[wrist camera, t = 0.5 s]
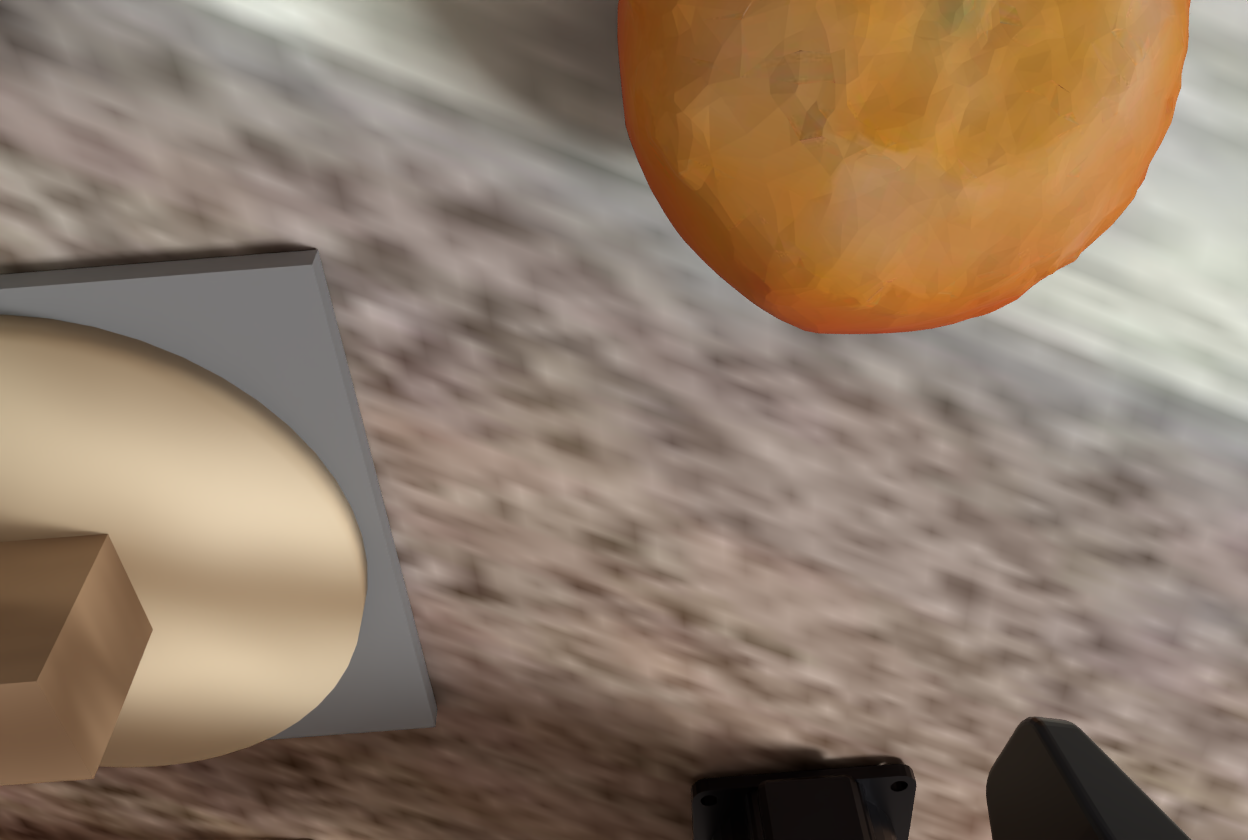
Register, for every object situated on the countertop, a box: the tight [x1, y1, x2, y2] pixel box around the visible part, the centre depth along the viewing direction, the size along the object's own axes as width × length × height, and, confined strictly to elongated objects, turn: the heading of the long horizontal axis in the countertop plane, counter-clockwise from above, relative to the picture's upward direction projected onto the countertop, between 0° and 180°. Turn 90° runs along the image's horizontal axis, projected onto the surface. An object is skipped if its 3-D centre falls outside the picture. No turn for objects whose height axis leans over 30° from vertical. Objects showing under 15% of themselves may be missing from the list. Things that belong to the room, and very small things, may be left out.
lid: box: [0, 315, 368, 786], centre depth 23 cm, size 13×13×5 cm
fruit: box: [617, 0, 1191, 334], centre depth 17 cm, size 8×8×8 cm
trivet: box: [0, 250, 437, 740], centre depth 26 cm, size 14×14×1 cm
